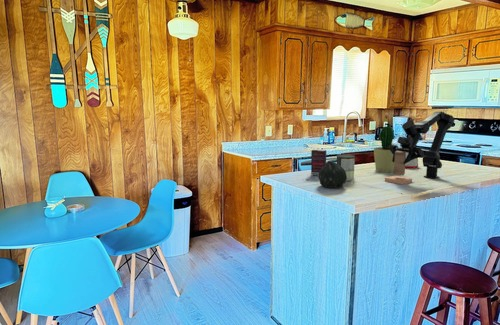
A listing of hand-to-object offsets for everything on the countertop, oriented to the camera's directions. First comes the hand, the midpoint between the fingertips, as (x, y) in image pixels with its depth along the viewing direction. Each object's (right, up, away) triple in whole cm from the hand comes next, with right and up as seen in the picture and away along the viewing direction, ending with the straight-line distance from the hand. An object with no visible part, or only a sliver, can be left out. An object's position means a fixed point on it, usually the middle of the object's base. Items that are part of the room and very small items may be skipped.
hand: (398, 162), depth 188 cm
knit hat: (+30, -3, +55) cm, 63 cm away
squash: (-37, -13, -3) cm, 39 cm away
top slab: (+1, -10, +2) cm, 11 cm away
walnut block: (+1, -6, +2) cm, 7 cm away
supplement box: (-38, -8, +28) cm, 48 cm away
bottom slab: (+1, -12, +3) cm, 13 cm away
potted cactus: (+9, -6, +42) cm, 43 cm away
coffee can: (-25, -10, +15) cm, 31 cm away
